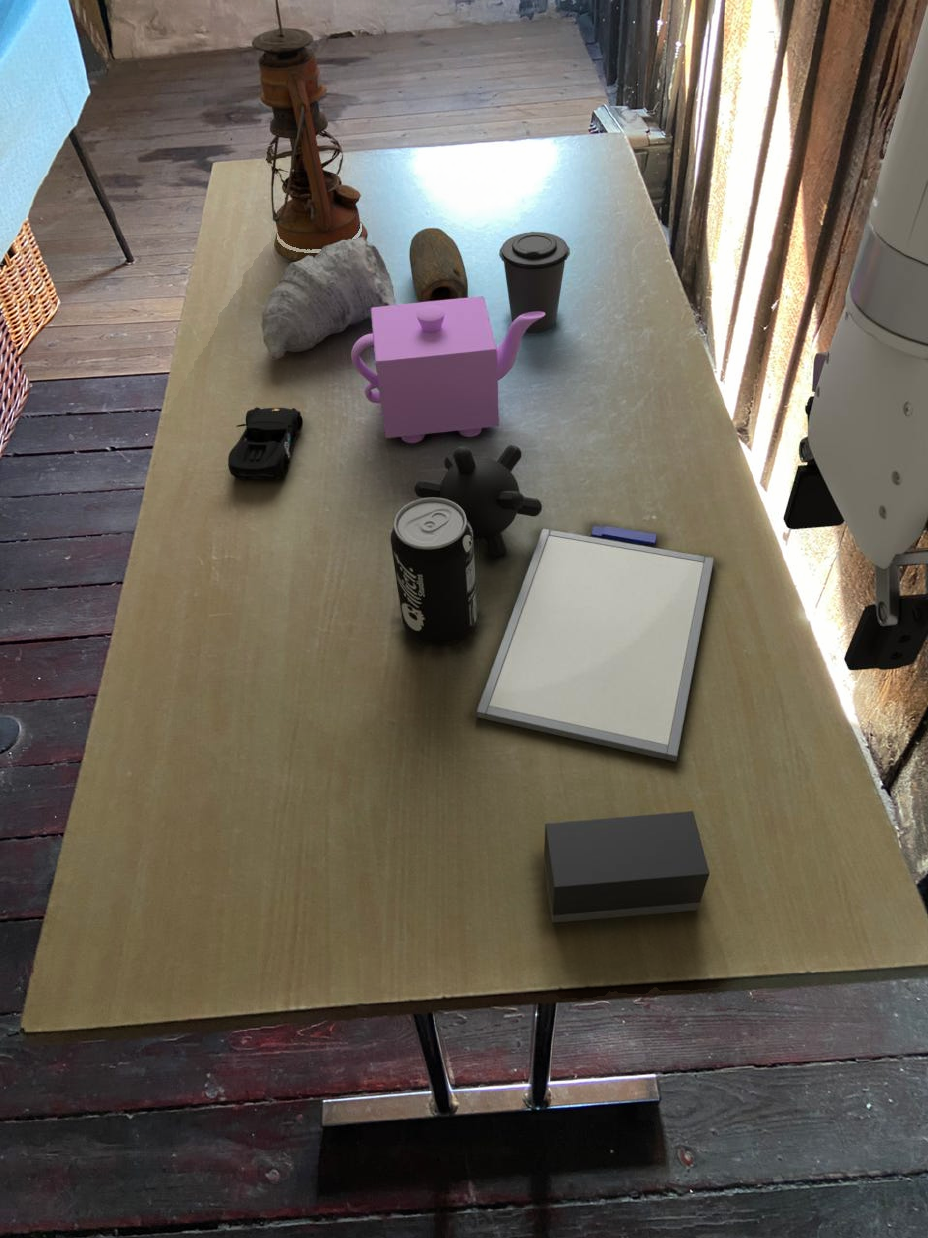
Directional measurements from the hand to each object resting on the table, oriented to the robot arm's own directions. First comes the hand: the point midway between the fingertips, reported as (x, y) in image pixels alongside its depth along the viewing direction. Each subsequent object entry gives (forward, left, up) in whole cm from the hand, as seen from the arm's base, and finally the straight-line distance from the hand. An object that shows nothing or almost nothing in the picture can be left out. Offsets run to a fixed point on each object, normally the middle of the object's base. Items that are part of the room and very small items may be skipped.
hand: (842, 588), depth 48 cm
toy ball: (+28, -26, -26) cm, 46 cm away
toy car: (+53, -32, -26) cm, 67 cm away
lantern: (+66, -77, -26) cm, 105 cm away
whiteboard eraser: (+8, +6, -26) cm, 28 cm away
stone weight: (+45, -66, -26) cm, 84 cm away
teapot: (+36, -43, -26) cm, 62 cm away
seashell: (+55, -55, -26) cm, 82 cm away
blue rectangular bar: (+14, -29, -26) cm, 41 cm away
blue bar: (+15, -29, -26) cm, 42 cm away
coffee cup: (+32, -63, -26) cm, 75 cm away
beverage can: (+28, -14, -26) cm, 41 cm away
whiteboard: (+14, -16, -26) cm, 34 cm away
